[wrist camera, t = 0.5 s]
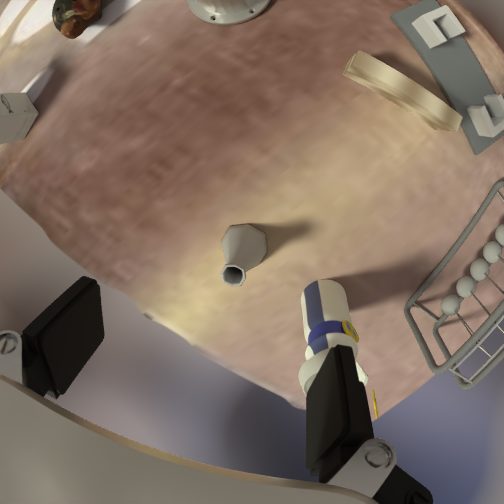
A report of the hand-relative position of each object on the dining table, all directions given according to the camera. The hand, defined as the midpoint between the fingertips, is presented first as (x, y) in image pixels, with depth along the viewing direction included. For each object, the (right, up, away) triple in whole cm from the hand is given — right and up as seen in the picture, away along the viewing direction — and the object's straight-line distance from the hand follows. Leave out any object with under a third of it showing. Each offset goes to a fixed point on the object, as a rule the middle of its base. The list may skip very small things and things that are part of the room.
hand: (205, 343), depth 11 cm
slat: (+22, +26, +23) cm, 41 cm away
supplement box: (-44, +31, +30) cm, 61 cm away
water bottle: (+14, -4, +38) cm, 40 cm away
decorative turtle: (-27, +46, +21) cm, 57 cm away
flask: (+1, +5, +36) cm, 36 cm away
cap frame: (+33, +31, +19) cm, 50 cm away
